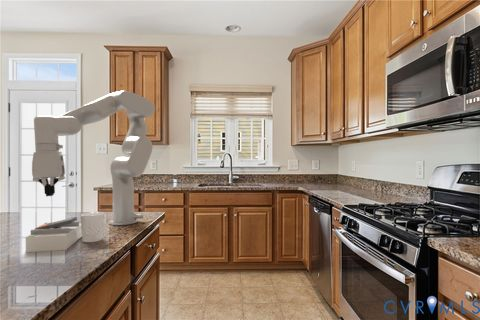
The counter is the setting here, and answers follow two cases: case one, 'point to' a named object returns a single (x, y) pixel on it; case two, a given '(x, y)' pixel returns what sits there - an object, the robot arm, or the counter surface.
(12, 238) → the counter surface
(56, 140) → the robot arm
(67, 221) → the breaker rocker
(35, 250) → the breaker panel
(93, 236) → the white cup
